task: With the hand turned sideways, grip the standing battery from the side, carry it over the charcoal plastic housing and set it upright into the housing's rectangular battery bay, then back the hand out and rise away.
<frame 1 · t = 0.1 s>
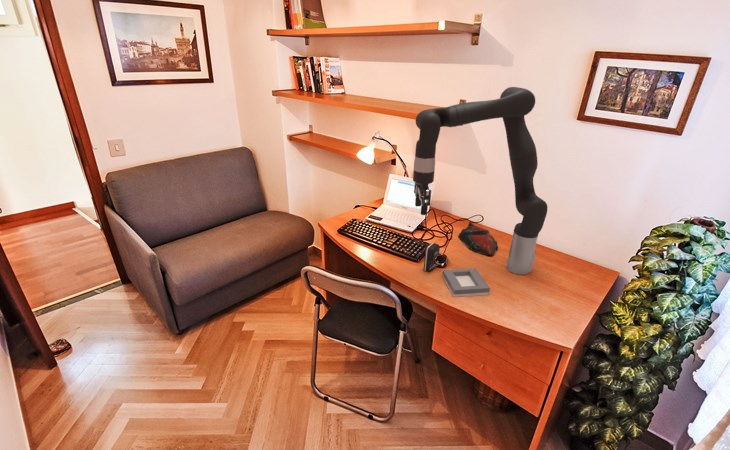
hand: (420, 210, 138), 29 cm above the table, tool pointing down, fingers open, 8 cm apart
drone shell: (477, 244, 177), on the table
housing: (464, 285, 145), on the table
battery: (430, 269, 155), on the table
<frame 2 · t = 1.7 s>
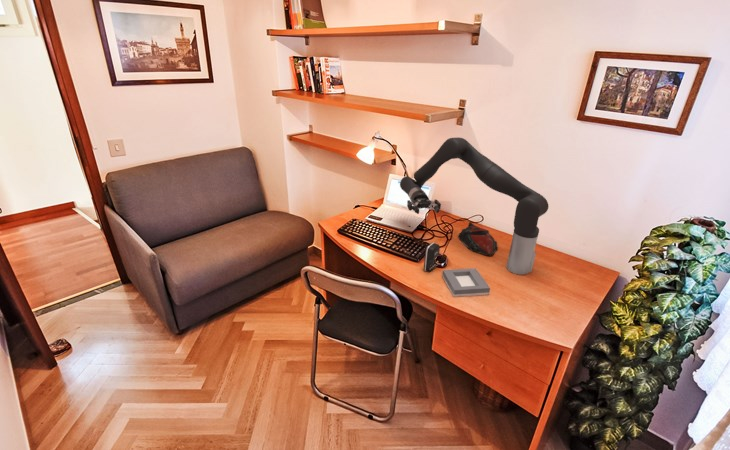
hand: (428, 211, 156), 22 cm above the table, tool horizontal, fingers open, 8 cm apart
nothing on the table moved.
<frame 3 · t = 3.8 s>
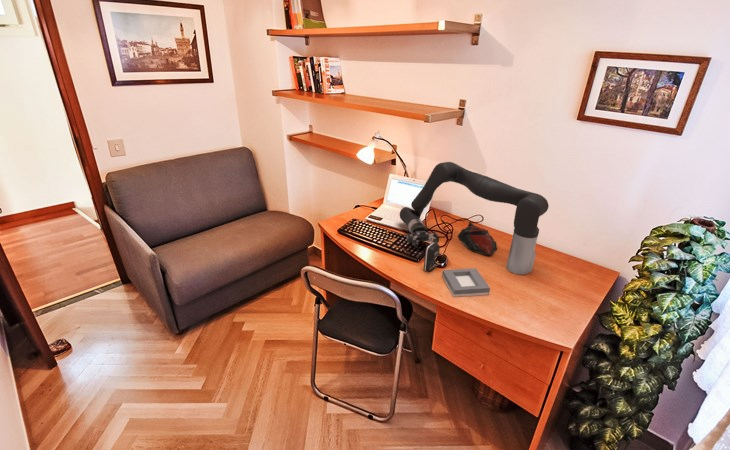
hand: (426, 245, 160), 7 cm above the table, tool horizontal, fingers open, 8 cm apart
nothing on the table moved.
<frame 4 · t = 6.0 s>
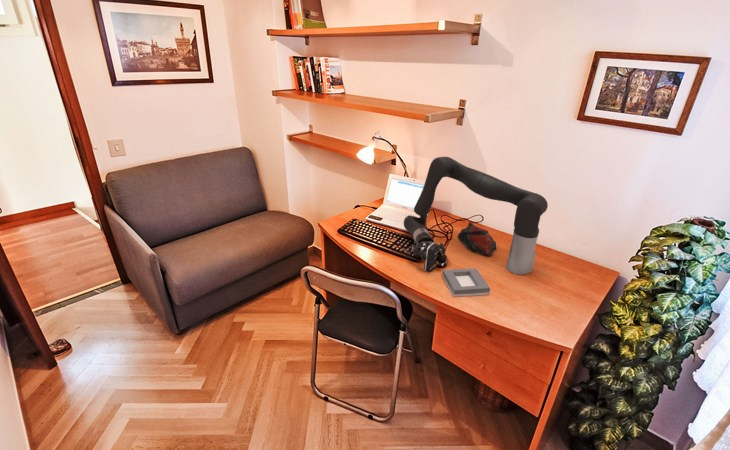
hand: (433, 257, 151), 7 cm above the table, tool horizontal, fingers closed on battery, 7 cm apart
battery: (430, 269, 155), on the table, touching gripper
everything else where it was.
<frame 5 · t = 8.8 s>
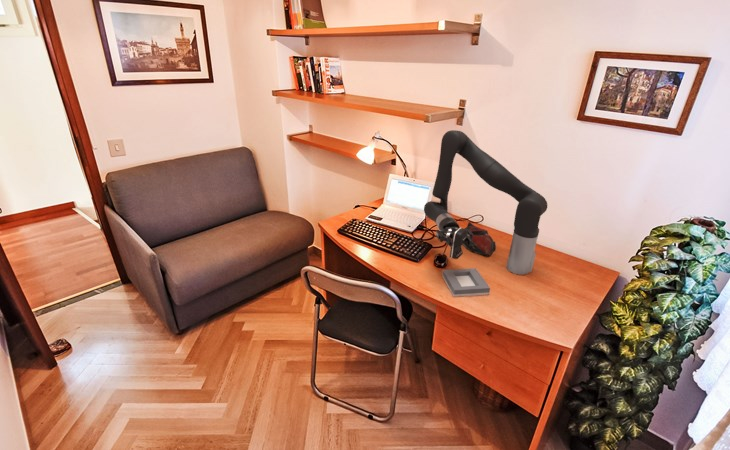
hand: (461, 243, 139), 18 cm above the table, tool horizontal, fingers closed on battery, 7 cm apart
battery: (457, 256, 144), point 11 cm above the table, touching gripper
when the fingers open (10 cm above the table, at t = 11.5 s): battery drops 2 cm, resting on housing.
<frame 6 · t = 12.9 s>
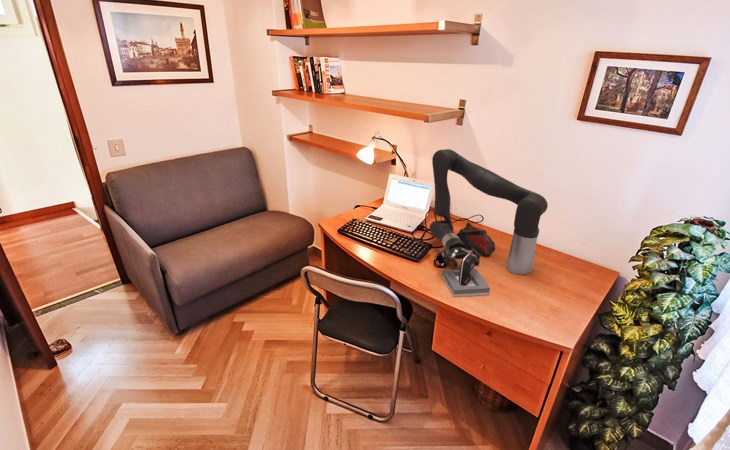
hand: (467, 265, 141), 9 cm above the table, tool horizontal, fingers open, 8 cm apart
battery: (465, 282, 145), point 1 cm above the table, touching housing
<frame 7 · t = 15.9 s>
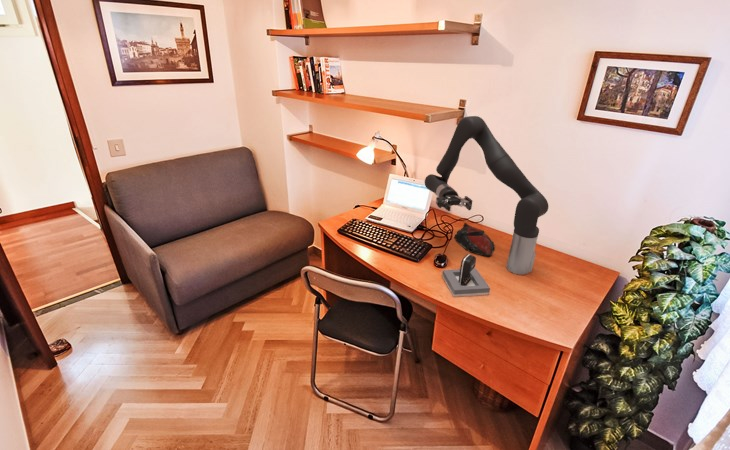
hand: (459, 208, 147), 27 cm above the table, tool horizontal, fingers open, 8 cm apart
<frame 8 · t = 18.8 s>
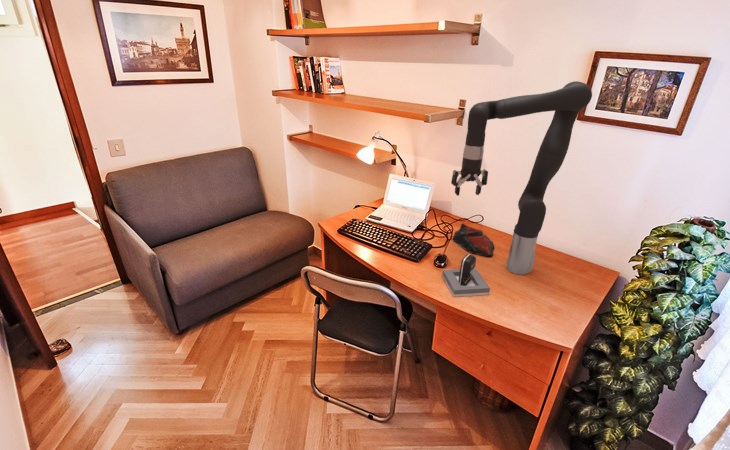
hand: (467, 194, 151), 30 cm above the table, tool pointing down, fingers open, 8 cm apart
at the end: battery 0.8 cm off-centre on the housing, point 0.8 cm above the housing's base; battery tilted 0°; the gripper is holding nothing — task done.
